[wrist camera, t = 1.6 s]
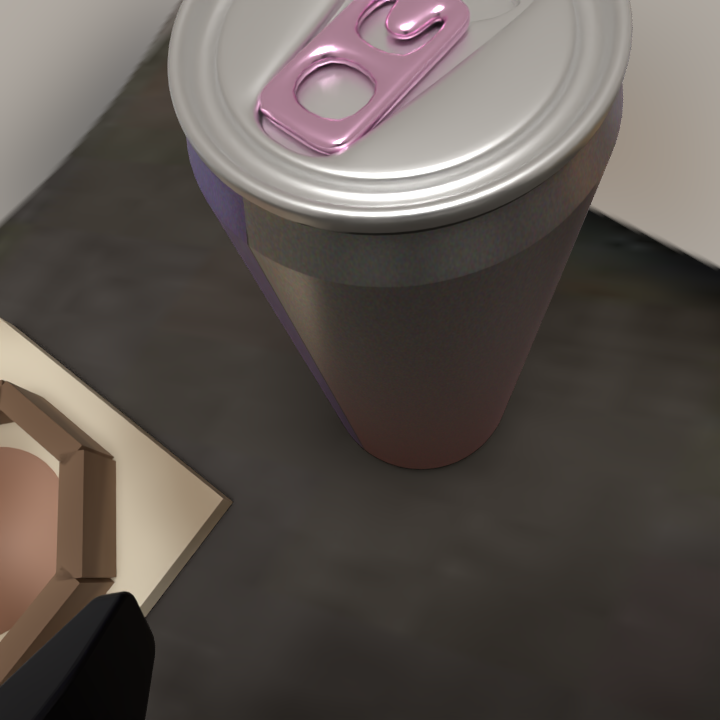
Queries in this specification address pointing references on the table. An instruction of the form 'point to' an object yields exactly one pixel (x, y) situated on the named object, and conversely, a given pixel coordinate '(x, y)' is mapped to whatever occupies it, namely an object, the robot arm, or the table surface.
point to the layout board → (144, 471)
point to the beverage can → (404, 187)
